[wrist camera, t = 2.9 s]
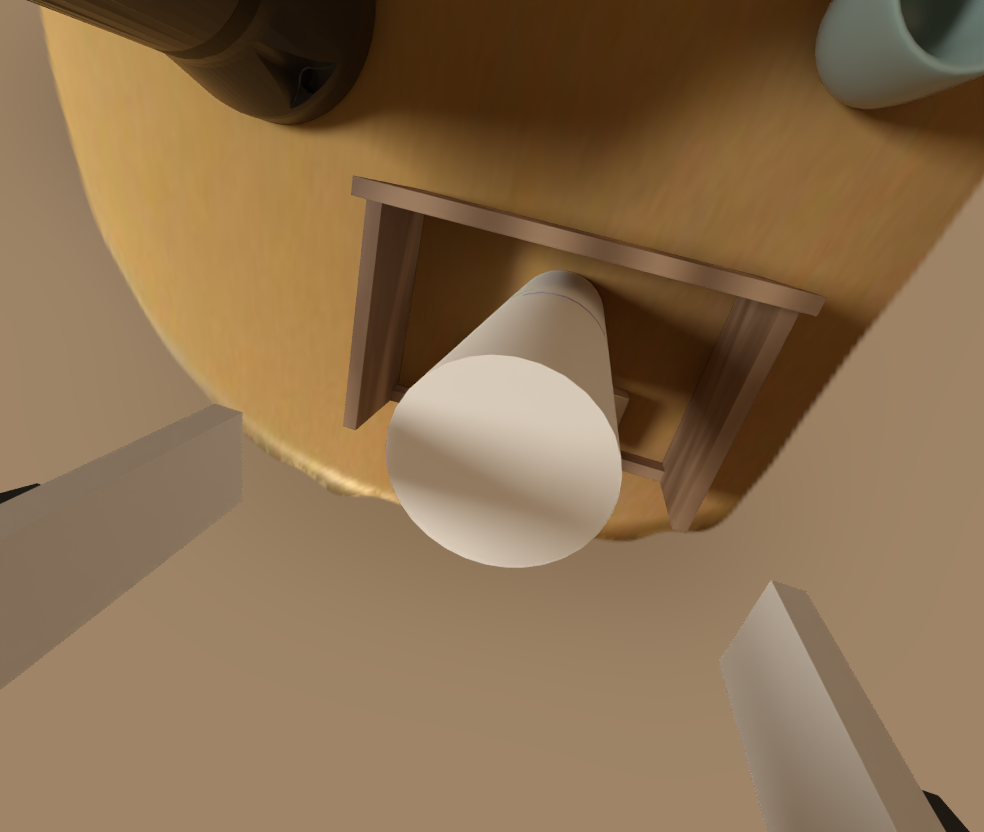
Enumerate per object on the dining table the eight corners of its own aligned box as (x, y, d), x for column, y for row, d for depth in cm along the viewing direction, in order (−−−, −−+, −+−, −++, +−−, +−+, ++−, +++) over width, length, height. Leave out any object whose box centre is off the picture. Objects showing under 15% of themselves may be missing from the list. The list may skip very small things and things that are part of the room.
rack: (386, 391, 42) (329, 437, 33) (415, 188, 35) (353, 175, 26) (669, 476, 40) (691, 551, 31) (762, 277, 32) (827, 297, 23)
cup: (770, 36, 28) (856, -55, 19) (916, -83, 25) (1103, -261, 16) (830, 151, 29) (937, 118, 20) (975, 51, 26) (1177, -39, 17)
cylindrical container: (602, 361, 37) (615, 577, 14) (514, 361, 38) (401, 557, 16) (605, 268, 34) (629, 354, 12) (511, 271, 36) (369, 354, 13)
